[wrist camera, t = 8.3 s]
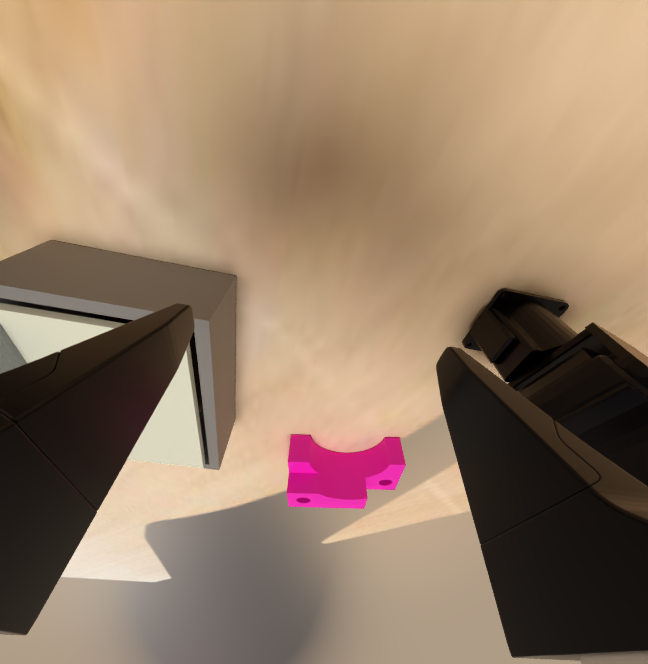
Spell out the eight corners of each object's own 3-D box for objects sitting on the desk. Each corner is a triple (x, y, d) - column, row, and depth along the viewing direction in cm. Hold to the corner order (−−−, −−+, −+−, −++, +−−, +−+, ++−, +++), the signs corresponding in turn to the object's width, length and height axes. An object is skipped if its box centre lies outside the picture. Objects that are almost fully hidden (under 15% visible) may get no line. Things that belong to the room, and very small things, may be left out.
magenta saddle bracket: (288, 506, 36) (285, 482, 32) (293, 461, 41) (291, 434, 37) (398, 509, 37) (410, 486, 32) (389, 463, 41) (399, 437, 37)
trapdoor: (188, 333, 18) (165, 367, 15) (205, 462, 29) (193, 494, 26) (-60, 292, 16) (-130, 323, 14) (59, 446, 27) (33, 478, 25)
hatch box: (236, 275, 22) (208, 321, 17) (235, 419, 35) (219, 470, 30) (51, 240, 20) (-41, 278, 15) (120, 404, 33) (83, 455, 28)
